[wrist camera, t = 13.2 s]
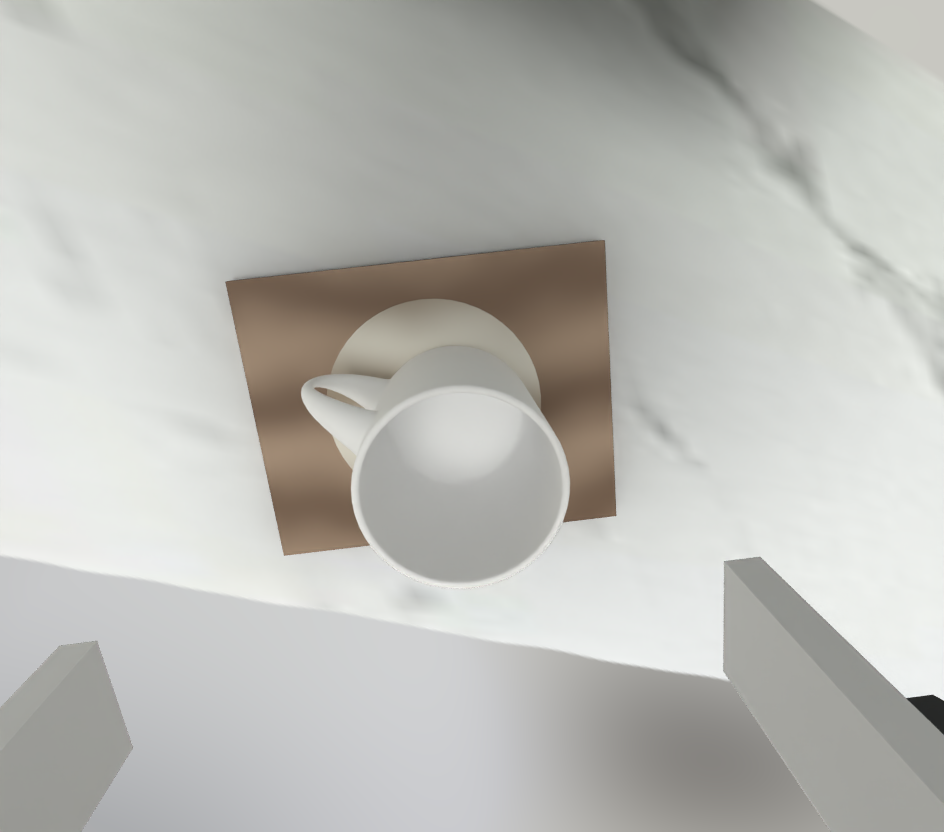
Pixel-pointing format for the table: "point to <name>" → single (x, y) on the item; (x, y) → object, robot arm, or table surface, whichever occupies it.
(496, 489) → the mug
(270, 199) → the table surface
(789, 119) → the table surface
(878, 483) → the table surface
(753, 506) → the table surface
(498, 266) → the board
